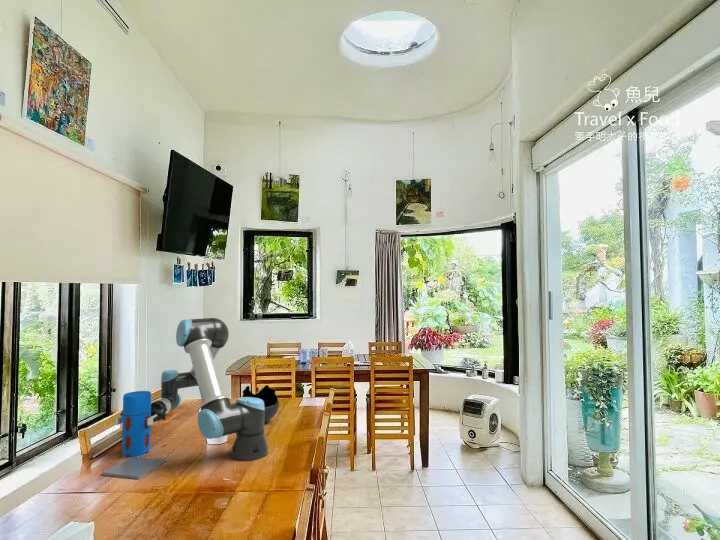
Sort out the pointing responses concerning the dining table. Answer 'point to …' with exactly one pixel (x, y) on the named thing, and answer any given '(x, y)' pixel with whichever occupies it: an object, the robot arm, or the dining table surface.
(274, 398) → the coal bowl
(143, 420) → the thermos
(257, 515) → the dining table surface
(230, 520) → the dining table surface
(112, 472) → the slate tile
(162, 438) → the dining table surface
